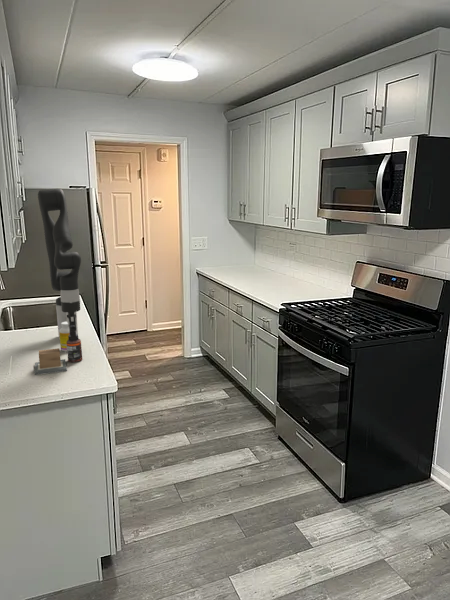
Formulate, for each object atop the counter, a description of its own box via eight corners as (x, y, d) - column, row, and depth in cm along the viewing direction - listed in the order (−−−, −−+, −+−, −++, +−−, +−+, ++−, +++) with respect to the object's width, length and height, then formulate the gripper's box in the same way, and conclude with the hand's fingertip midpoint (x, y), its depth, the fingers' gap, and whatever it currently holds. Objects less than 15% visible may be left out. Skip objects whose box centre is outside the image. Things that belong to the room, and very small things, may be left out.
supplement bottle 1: (71, 352, 210) (69, 325, 208) (57, 351, 212) (55, 324, 209) (78, 347, 217) (76, 321, 214) (65, 347, 218) (63, 320, 215)
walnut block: (39, 364, 192) (38, 350, 191) (60, 361, 195) (59, 348, 194) (39, 368, 187) (38, 354, 186) (60, 366, 190) (59, 352, 189)
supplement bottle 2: (77, 357, 204) (75, 332, 202) (85, 359, 201) (83, 334, 198) (65, 360, 200) (63, 335, 197) (73, 363, 196) (71, 337, 194)
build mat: (35, 364, 195) (34, 362, 194) (65, 361, 199) (65, 358, 199) (34, 374, 184) (34, 372, 184) (66, 370, 188) (66, 368, 188)
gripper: (60, 297, 200) (63, 333, 203) (61, 303, 187) (64, 342, 190) (78, 296, 202) (81, 332, 206) (80, 302, 189) (83, 340, 193)
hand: (73, 337), depth 198 cm, fingers open, 8 cm apart
